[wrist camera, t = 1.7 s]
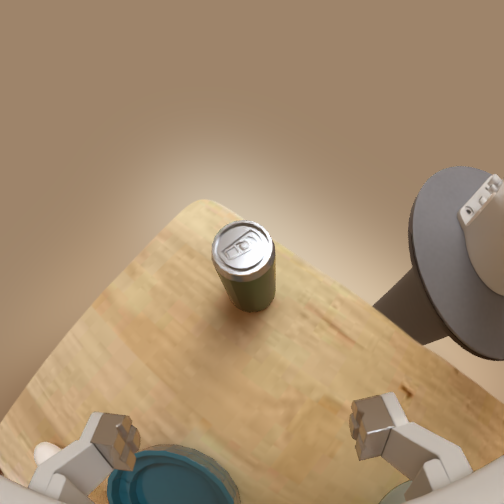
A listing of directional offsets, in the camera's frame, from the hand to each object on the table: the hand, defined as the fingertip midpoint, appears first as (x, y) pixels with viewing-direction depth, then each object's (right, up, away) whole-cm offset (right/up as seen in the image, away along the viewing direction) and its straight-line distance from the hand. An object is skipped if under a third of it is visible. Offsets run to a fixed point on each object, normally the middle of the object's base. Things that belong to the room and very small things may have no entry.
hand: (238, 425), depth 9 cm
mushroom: (-25, -21, +18) cm, 37 cm away
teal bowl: (-8, -22, +16) cm, 28 cm away
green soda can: (+1, +1, +26) cm, 26 cm away
